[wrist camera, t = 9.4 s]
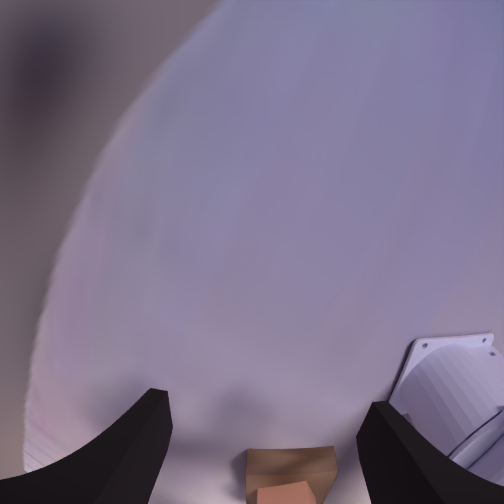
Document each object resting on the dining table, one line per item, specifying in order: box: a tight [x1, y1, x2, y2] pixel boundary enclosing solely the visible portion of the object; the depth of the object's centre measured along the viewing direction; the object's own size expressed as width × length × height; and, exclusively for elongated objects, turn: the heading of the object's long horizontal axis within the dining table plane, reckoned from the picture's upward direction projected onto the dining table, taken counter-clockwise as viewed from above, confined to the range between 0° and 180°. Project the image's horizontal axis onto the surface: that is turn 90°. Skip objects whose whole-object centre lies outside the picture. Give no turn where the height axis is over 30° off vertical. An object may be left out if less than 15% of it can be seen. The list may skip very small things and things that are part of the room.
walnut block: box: [246, 446, 339, 504], centre depth 22 cm, size 8×8×4 cm
